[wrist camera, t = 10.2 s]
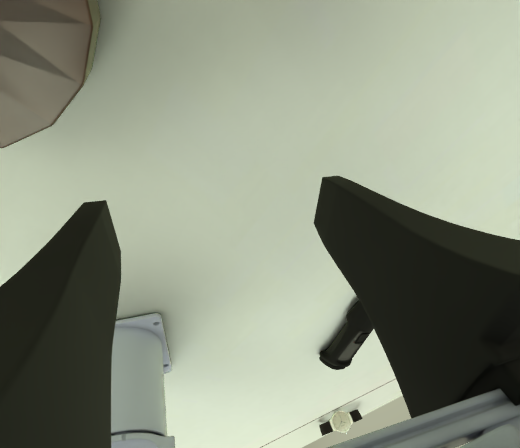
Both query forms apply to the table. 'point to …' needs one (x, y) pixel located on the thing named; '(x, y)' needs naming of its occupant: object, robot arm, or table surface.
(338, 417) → the watch
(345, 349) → the electric trimmer
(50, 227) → the table surface
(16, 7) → the clock ring
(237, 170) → the table surface
